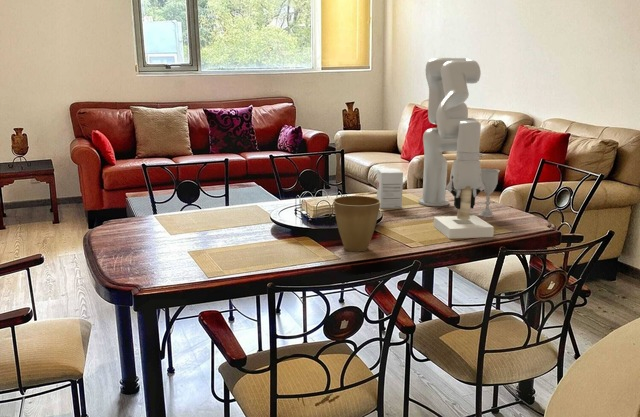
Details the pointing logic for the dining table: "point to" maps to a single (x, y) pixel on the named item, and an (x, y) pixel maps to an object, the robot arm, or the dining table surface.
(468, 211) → the peg
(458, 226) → the socket
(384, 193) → the supplement box
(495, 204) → the dining table surface
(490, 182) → the chalice
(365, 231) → the plant pot
